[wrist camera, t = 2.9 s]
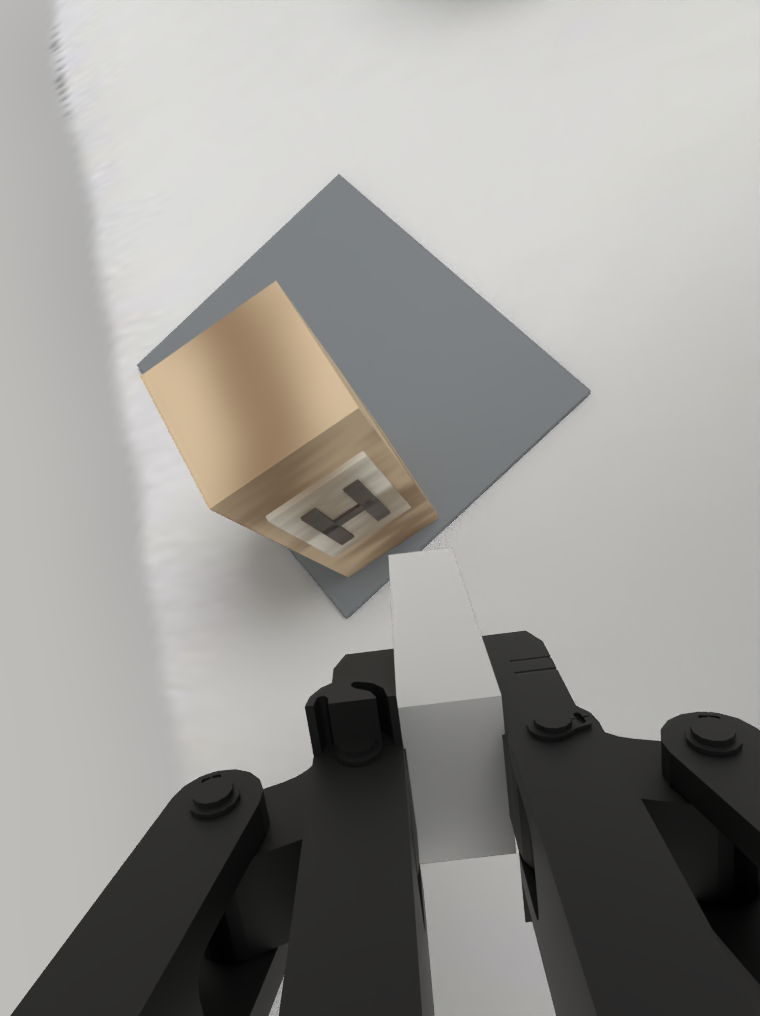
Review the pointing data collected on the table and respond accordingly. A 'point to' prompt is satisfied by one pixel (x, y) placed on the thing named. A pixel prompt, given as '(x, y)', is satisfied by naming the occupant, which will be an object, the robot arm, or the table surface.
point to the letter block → (286, 438)
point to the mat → (402, 358)
